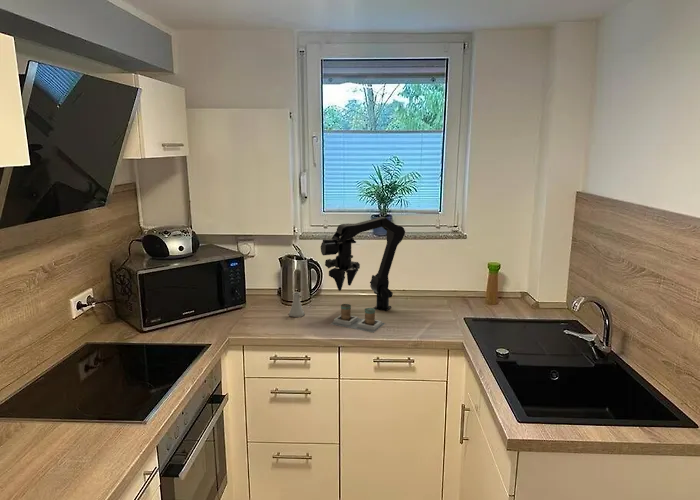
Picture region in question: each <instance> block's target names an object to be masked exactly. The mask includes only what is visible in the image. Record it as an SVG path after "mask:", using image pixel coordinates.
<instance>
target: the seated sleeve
mask: <svg viewBox="0 0 700 500" xmlns="http://www.w3.org/2000/svg"><path fill="white" fill-rule="evenodd" d="M375 318H376V309H374V307H373V308H372V307H367V308H364V319H365V324H367V325H372V326H373V325H375V320H376V319H375Z"/></svg>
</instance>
